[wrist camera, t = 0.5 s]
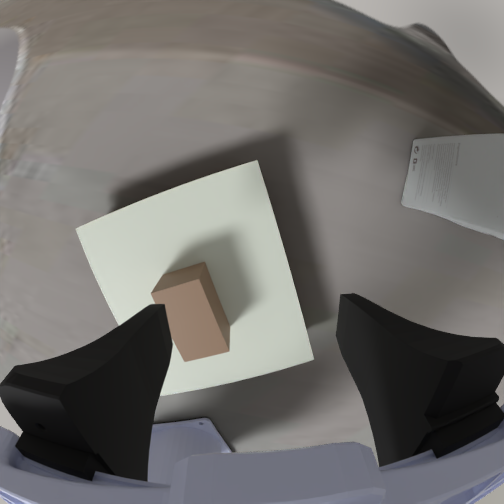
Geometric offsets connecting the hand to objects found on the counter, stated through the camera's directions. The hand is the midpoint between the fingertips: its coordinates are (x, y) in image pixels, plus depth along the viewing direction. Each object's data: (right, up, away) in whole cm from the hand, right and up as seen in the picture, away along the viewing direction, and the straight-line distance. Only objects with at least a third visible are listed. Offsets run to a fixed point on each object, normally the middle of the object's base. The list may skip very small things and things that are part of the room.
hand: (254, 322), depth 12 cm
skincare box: (+16, +9, +9) cm, 21 cm away
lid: (-4, 0, +8) cm, 9 cm away
